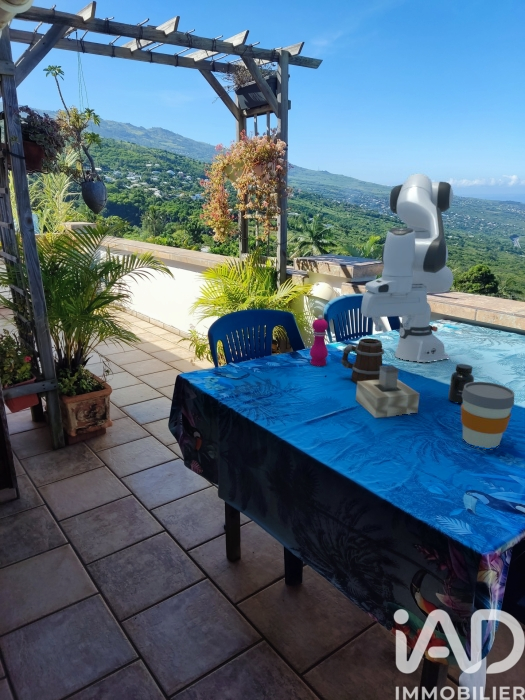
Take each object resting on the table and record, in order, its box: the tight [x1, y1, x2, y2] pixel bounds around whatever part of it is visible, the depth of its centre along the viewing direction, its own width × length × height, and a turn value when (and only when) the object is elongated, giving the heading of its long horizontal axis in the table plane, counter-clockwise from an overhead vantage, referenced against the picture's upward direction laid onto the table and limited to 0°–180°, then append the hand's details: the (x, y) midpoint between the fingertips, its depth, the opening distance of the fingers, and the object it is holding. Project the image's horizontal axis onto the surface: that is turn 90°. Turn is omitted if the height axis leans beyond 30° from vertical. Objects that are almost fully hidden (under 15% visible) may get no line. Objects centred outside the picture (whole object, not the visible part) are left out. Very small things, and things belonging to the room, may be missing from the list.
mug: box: [340, 337, 385, 385], centre depth 170 cm, size 16×12×15 cm
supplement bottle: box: [447, 363, 475, 403], centre depth 153 cm, size 7×7×12 cm
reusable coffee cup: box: [460, 381, 515, 448], centre depth 125 cm, size 13×13×15 cm
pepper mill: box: [309, 314, 329, 367], centre depth 187 cm, size 7×7×20 cm
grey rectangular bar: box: [378, 364, 400, 392], centre depth 147 cm, size 4×4×12 cm
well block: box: [355, 378, 420, 419], centre depth 148 cm, size 14×14×6 cm
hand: (392, 330), depth 143 cm, fingers open, 8 cm apart
